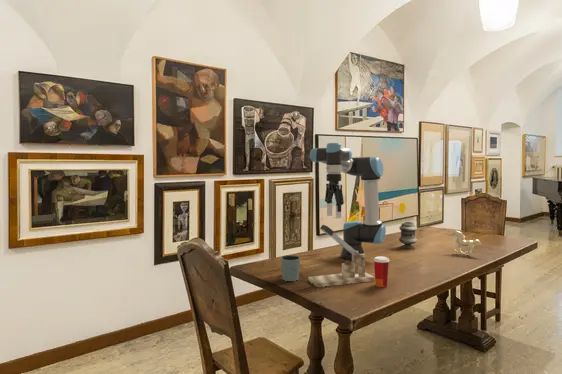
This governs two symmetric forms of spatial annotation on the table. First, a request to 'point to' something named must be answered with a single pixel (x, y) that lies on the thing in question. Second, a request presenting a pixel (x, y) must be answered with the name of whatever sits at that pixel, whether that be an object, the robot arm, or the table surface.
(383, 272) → the paper cup
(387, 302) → the table surface
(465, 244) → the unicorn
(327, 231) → the lever
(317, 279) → the press base
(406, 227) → the apothecary jar
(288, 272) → the blue grey planter pot
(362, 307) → the table surface
